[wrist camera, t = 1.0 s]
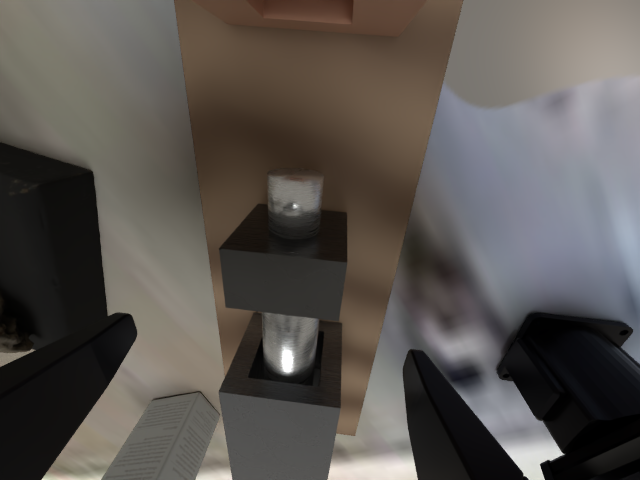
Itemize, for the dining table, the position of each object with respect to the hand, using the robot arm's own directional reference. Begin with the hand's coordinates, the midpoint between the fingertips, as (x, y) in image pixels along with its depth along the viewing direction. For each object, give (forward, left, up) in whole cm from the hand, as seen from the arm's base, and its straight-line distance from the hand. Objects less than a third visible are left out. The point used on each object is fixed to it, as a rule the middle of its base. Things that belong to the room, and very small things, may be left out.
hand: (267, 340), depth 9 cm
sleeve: (0, +13, -9) cm, 16 cm away
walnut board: (0, +3, -9) cm, 10 cm away
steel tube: (0, +6, -8) cm, 10 cm away
